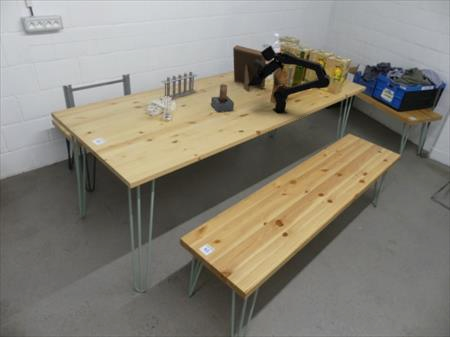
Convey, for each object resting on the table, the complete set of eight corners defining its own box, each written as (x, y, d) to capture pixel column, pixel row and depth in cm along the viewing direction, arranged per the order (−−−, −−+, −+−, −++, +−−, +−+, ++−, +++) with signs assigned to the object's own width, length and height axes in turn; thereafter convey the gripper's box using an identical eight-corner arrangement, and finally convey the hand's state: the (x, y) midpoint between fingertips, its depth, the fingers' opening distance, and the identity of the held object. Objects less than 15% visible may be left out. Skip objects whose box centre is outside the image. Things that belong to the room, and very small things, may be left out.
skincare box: (283, 92, 241) (287, 69, 232) (274, 89, 244) (278, 66, 236) (289, 89, 247) (294, 66, 238) (280, 86, 250) (284, 64, 242)
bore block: (233, 110, 209) (234, 102, 206) (217, 112, 205) (217, 103, 202) (226, 103, 216) (227, 96, 214) (211, 105, 213) (211, 97, 210)
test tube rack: (166, 101, 212) (166, 79, 205) (161, 98, 215) (160, 77, 207) (196, 92, 229) (197, 71, 221) (191, 90, 231) (192, 69, 224)
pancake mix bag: (264, 100, 226) (270, 56, 210) (281, 94, 238) (289, 51, 223) (272, 104, 222) (280, 59, 207) (290, 97, 234) (298, 54, 219)
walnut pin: (226, 107, 211) (228, 85, 204) (222, 109, 208) (224, 87, 201) (221, 105, 213) (223, 83, 206) (217, 106, 210) (218, 85, 203)
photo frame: (237, 79, 254) (241, 43, 241) (264, 87, 246) (270, 50, 232) (226, 85, 244) (229, 47, 230) (254, 94, 235) (259, 55, 221)
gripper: (266, 51, 208) (245, 67, 217) (259, 60, 193) (237, 76, 201) (277, 67, 211) (256, 82, 219) (271, 76, 196) (249, 92, 204)
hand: (249, 83), depth 211 cm, fingers open, 9 cm apart
